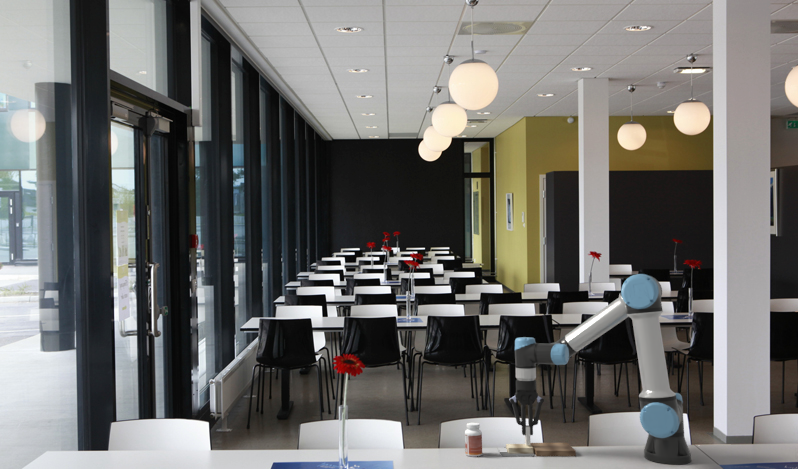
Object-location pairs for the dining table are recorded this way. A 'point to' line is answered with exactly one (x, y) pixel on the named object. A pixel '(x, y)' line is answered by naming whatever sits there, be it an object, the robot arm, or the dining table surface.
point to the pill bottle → (473, 440)
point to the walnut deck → (553, 449)
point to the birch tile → (519, 449)
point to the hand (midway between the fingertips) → (527, 444)
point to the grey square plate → (515, 455)
